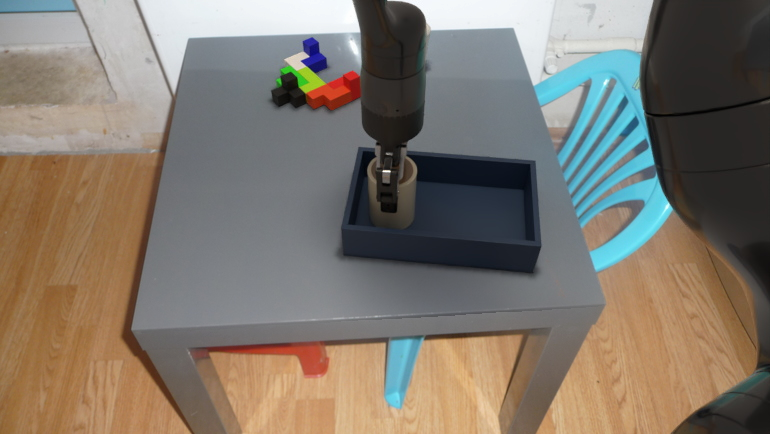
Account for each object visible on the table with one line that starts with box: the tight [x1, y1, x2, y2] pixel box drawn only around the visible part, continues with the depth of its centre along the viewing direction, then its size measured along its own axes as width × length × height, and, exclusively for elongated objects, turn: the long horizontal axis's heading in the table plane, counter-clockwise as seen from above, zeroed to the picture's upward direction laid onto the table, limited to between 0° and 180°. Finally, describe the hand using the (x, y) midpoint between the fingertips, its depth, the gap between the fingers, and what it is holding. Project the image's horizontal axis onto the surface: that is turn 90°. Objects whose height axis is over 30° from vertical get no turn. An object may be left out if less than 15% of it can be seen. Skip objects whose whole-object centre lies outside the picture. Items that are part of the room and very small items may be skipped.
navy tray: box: [340, 146, 543, 274], centre depth 82 cm, size 26×16×6 cm, turn 83°
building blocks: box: [270, 36, 361, 111], centre depth 102 cm, size 15×13×4 cm
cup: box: [367, 156, 417, 229], centre depth 81 cm, size 7×7×9 cm
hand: (392, 190), depth 81 cm, fingers closed on cup, 6 cm apart
